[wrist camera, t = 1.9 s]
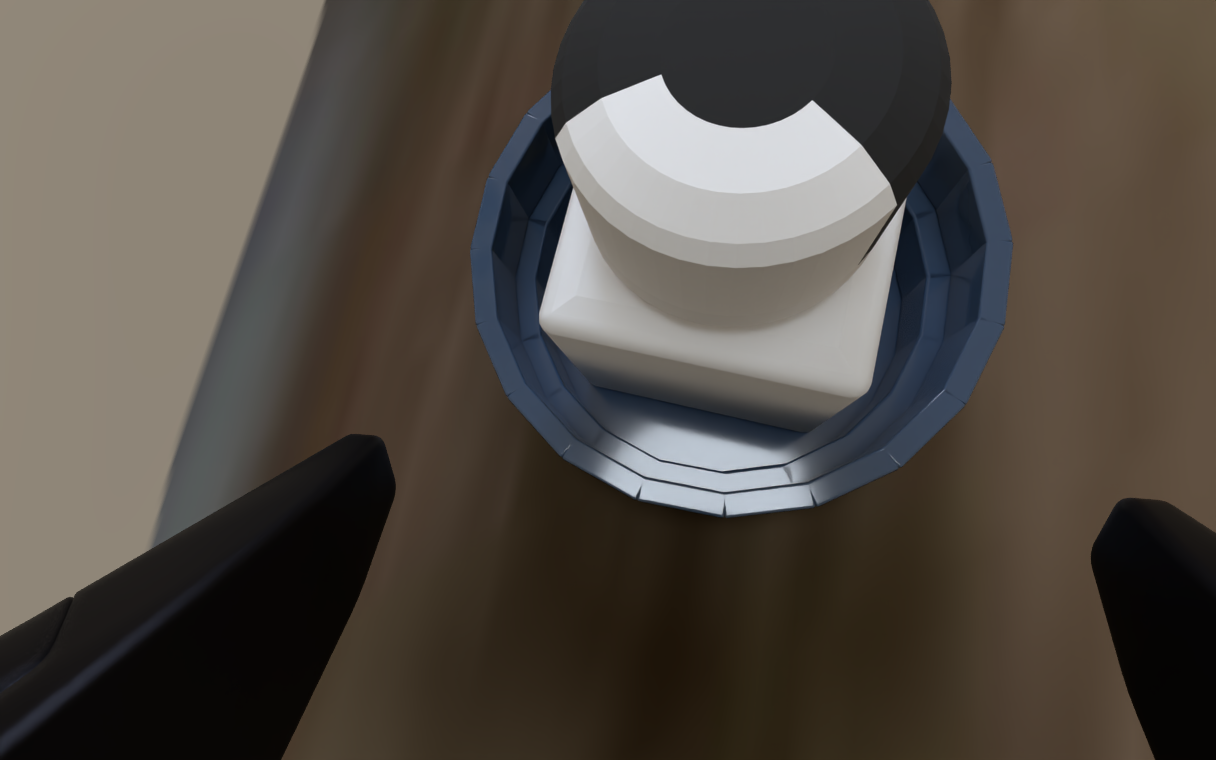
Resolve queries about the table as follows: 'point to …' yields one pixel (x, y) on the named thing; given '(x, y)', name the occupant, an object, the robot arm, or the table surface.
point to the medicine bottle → (738, 195)
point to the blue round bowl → (728, 446)
